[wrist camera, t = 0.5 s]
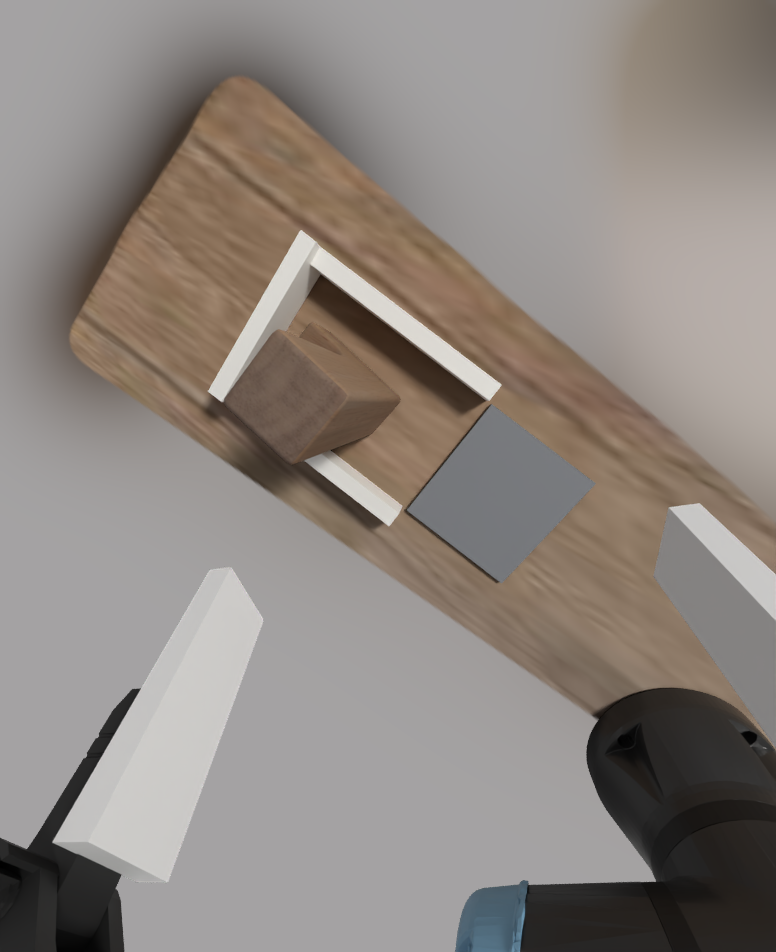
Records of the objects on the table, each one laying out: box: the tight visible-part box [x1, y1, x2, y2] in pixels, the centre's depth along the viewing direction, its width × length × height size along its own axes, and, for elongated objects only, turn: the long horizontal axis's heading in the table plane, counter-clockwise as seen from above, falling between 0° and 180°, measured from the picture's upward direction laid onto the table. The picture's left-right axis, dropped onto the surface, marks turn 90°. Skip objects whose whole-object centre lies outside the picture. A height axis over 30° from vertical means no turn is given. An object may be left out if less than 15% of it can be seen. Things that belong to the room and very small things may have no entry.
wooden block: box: [223, 322, 401, 465], centre depth 26 cm, size 9×4×18 cm, turn 48°
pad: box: [407, 404, 596, 583], centre depth 34 cm, size 11×12×1 cm
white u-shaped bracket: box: [208, 230, 501, 526], centre depth 33 cm, size 20×15×4 cm
